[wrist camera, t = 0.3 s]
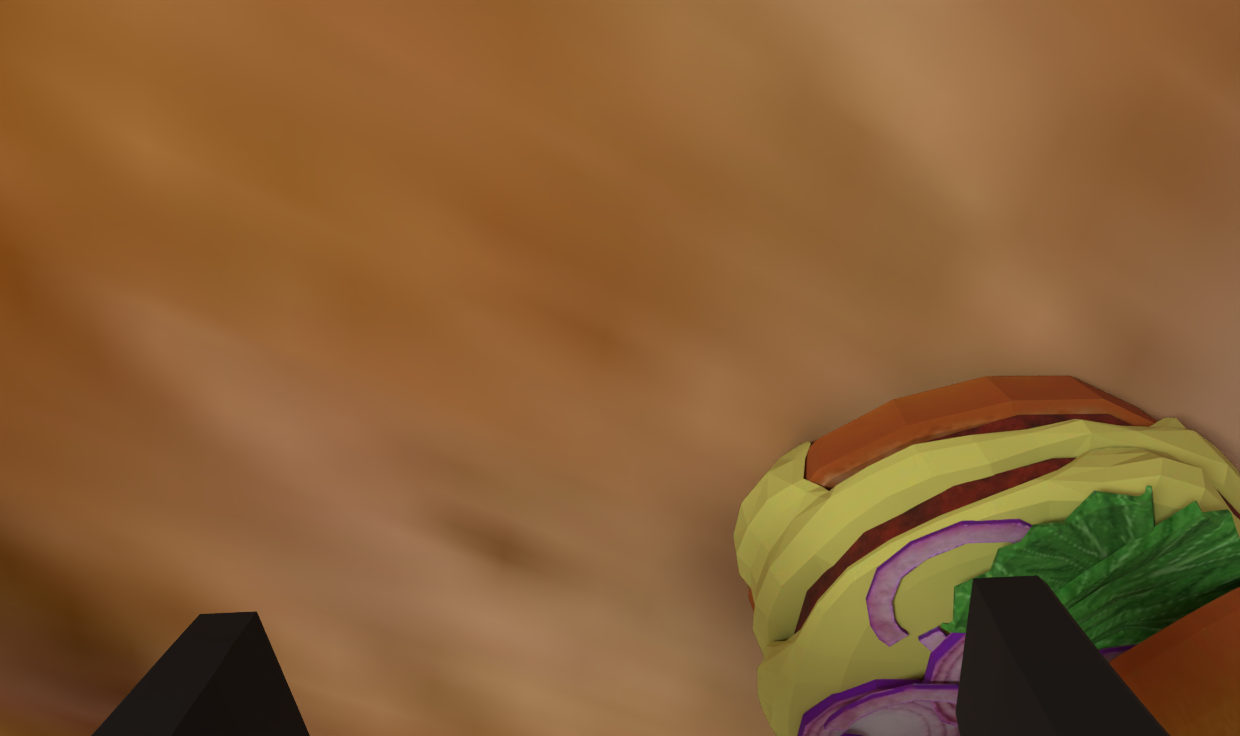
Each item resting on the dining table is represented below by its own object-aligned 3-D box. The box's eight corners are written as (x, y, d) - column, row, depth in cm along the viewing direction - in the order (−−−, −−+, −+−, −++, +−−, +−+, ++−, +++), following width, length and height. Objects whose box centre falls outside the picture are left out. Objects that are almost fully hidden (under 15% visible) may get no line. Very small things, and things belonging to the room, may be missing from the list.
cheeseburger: (826, 261, 19) (1156, 751, 11) (1252, 336, 23) (1714, 743, 15) (650, 624, 25) (793, 1118, 17) (1015, 637, 28) (1267, 1046, 21)
